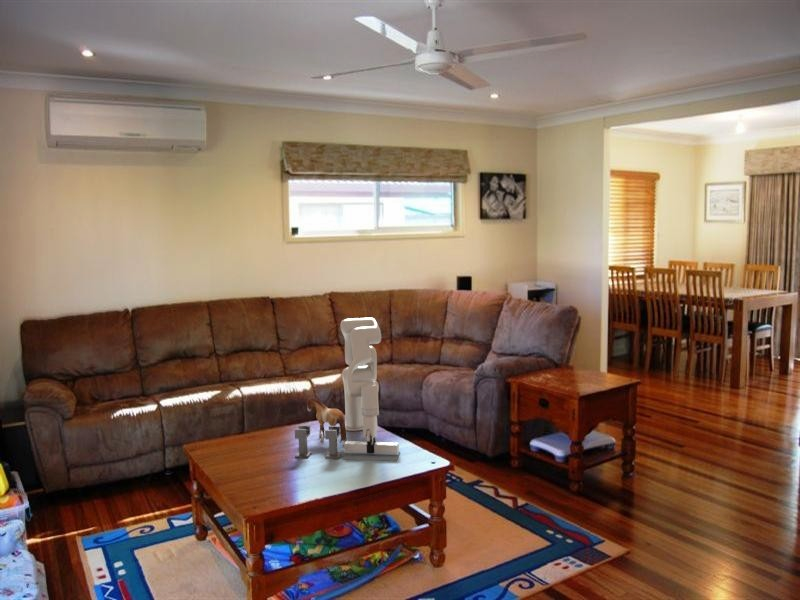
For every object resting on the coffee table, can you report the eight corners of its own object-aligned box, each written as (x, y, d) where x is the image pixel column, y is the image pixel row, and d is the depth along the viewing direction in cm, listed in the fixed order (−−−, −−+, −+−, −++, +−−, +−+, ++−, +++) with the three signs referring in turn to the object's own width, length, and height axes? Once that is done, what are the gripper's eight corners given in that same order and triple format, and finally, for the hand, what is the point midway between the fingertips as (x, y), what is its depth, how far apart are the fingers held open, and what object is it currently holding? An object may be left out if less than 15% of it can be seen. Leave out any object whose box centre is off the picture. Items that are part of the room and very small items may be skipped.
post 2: (329, 453, 305) (328, 425, 303) (342, 454, 304) (341, 426, 302) (325, 458, 298) (323, 430, 296) (338, 459, 297) (337, 430, 295)
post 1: (299, 452, 307) (298, 425, 306) (312, 453, 306) (311, 425, 305) (294, 458, 300) (293, 429, 299) (307, 458, 299) (306, 430, 298)
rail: (346, 449, 304) (346, 441, 303) (398, 451, 300) (398, 442, 299) (344, 452, 300) (344, 443, 299) (397, 454, 296) (397, 445, 296)
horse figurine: (306, 437, 329) (304, 396, 327) (319, 434, 334) (318, 393, 332) (342, 453, 305) (340, 408, 303) (356, 449, 310) (354, 405, 308)
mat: (348, 451, 307) (348, 450, 307) (400, 452, 303) (400, 451, 303) (342, 459, 297) (342, 457, 297) (396, 460, 293) (396, 459, 293)
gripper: (365, 406, 307) (367, 445, 309) (357, 416, 290) (359, 457, 292) (382, 406, 305) (383, 445, 307) (374, 417, 289) (376, 458, 291)
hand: (371, 450), depth 300 cm, fingers closed on rail, 4 cm apart
